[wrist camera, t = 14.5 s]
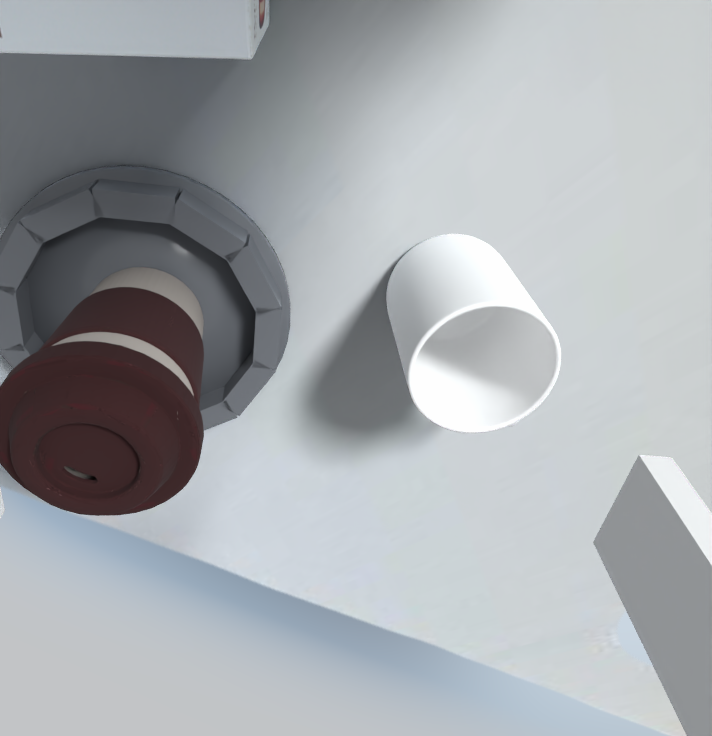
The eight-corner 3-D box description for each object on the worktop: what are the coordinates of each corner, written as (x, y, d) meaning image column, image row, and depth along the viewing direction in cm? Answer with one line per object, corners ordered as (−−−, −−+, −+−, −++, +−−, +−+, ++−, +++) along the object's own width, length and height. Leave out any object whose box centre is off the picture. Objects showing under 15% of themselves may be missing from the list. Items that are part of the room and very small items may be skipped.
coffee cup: (176, 219, 39) (120, 343, 26) (250, 346, 44) (233, 500, 32) (37, 280, 40) (-80, 425, 28) (125, 396, 46) (61, 563, 33)
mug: (434, 393, 49) (466, 490, 40) (362, 267, 43) (380, 349, 34) (539, 344, 47) (597, 433, 38) (479, 206, 41) (532, 274, 32)
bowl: (-27, 147, 37) (-51, 160, 34) (302, 184, 39) (303, 199, 37) (18, 412, 47) (3, 438, 44) (279, 427, 49) (278, 452, 47)
